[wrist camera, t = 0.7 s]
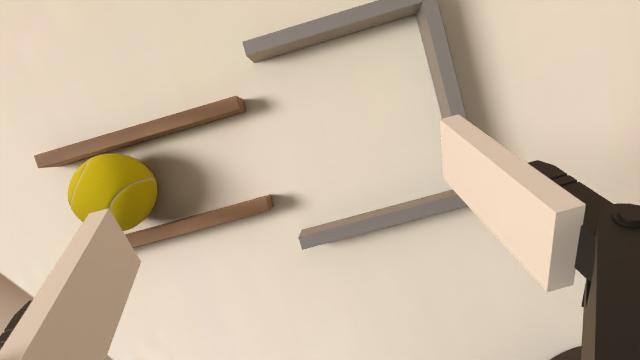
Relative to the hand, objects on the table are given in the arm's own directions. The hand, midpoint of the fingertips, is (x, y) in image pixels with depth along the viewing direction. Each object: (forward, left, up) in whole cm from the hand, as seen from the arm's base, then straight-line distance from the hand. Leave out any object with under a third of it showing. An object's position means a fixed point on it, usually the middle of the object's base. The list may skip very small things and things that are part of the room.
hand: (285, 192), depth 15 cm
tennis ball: (+3, +18, -23) cm, 29 cm away
